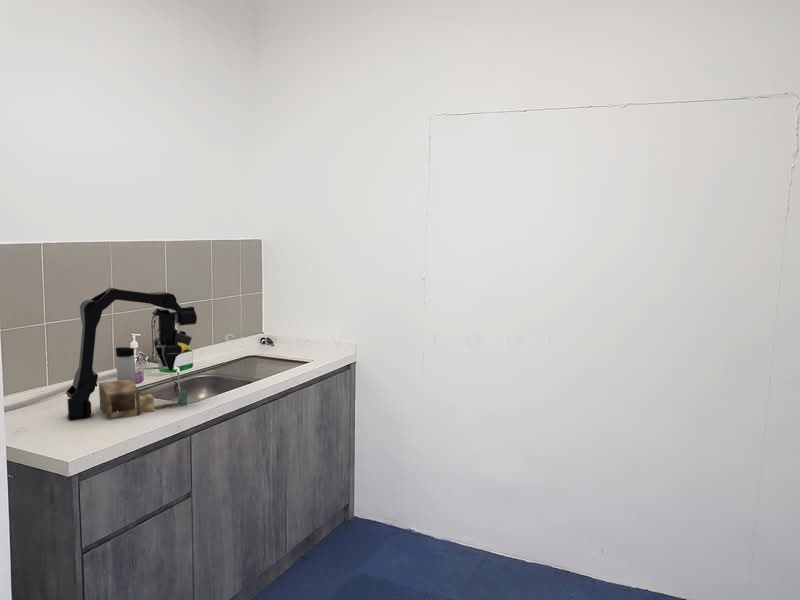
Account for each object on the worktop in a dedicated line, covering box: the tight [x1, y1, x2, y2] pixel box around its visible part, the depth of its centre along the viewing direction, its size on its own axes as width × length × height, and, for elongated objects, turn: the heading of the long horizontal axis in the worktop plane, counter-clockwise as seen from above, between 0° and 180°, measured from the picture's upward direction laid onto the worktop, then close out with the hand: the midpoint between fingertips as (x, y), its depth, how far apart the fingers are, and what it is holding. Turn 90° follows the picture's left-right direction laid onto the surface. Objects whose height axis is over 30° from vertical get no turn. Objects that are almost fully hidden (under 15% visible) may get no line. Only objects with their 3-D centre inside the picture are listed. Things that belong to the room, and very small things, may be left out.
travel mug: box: [115, 346, 137, 399], centre depth 235 cm, size 6×7×20 cm
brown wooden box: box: [98, 379, 141, 420], centre depth 221 cm, size 10×18×9 cm, turn 33°
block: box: [140, 390, 188, 414], centre depth 225 cm, size 17×5×5 cm, turn 124°
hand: (167, 368), depth 231 cm, fingers open, 9 cm apart
